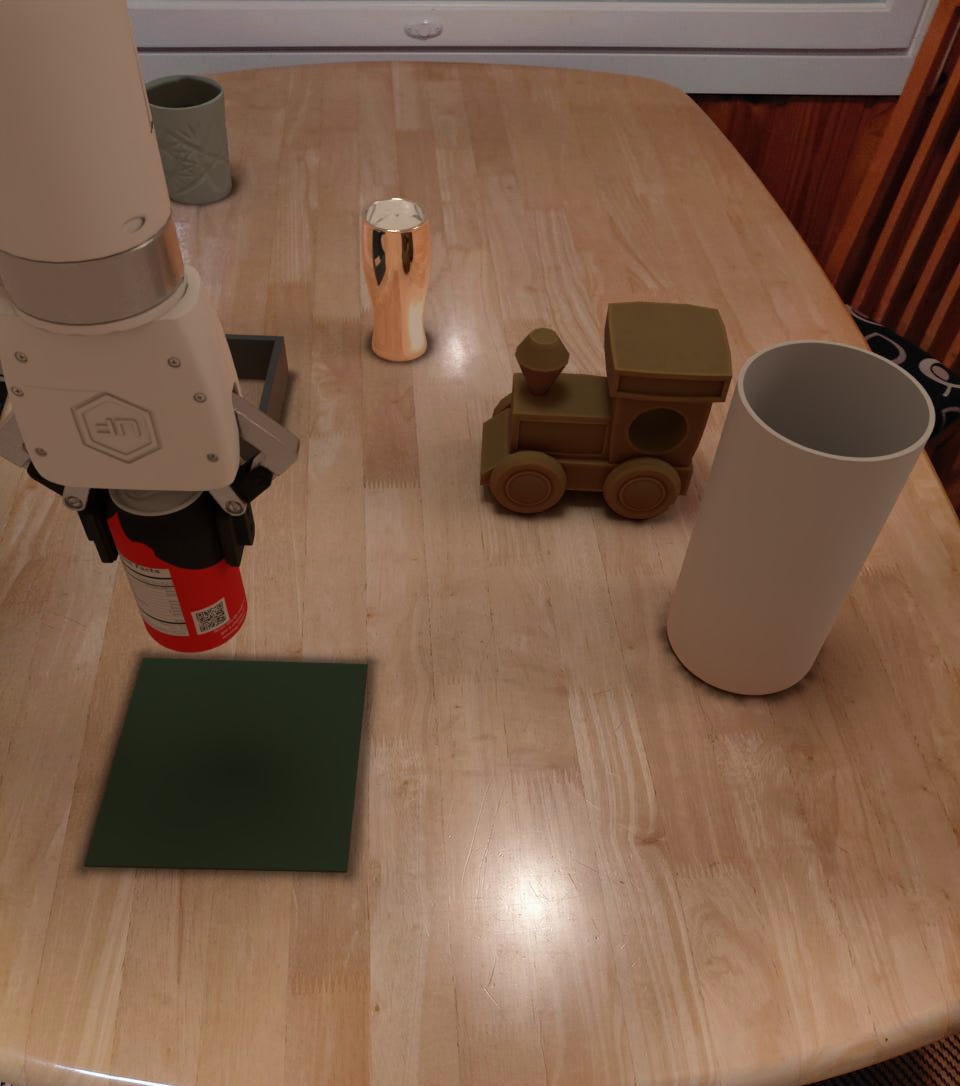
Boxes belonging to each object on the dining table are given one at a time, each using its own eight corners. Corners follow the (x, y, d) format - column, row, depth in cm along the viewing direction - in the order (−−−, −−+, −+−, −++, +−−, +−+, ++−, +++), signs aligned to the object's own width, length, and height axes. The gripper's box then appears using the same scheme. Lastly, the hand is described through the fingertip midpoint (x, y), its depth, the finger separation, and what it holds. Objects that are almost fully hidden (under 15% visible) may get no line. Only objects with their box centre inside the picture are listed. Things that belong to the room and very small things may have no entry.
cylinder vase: (663, 577, 86) (732, 331, 66) (804, 592, 85) (915, 349, 66) (666, 691, 78) (744, 450, 58) (821, 707, 77) (953, 470, 58)
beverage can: (267, 633, 61) (238, 491, 51) (173, 678, 58) (124, 538, 49) (222, 571, 64) (187, 427, 54) (131, 611, 61) (78, 468, 52)
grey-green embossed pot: (160, 210, 122) (137, 110, 112) (157, 172, 128) (135, 74, 118) (241, 204, 123) (226, 105, 114) (235, 167, 129) (220, 70, 120)
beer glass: (380, 371, 103) (373, 237, 91) (358, 335, 107) (349, 202, 95) (440, 357, 105) (441, 224, 93) (417, 322, 109) (415, 191, 97)
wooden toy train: (680, 448, 97) (719, 299, 84) (693, 529, 90) (737, 380, 77) (481, 438, 96) (489, 287, 83) (478, 518, 89) (486, 366, 76)
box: (129, 458, 93) (115, 416, 89) (159, 372, 101) (148, 330, 97) (271, 463, 93) (264, 421, 89) (289, 377, 101) (283, 335, 98)
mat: (85, 867, 66) (84, 865, 66) (144, 660, 78) (143, 657, 77) (347, 873, 67) (346, 871, 67) (367, 666, 78) (367, 663, 78)
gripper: (-149, 298, 39) (4, 591, 53) (281, 314, 39) (320, 600, 53) (-81, 205, 44) (43, 497, 58) (302, 221, 44) (333, 507, 58)
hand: (176, 545), depth 55 cm, fingers closed on beverage can, 6 cm apart
